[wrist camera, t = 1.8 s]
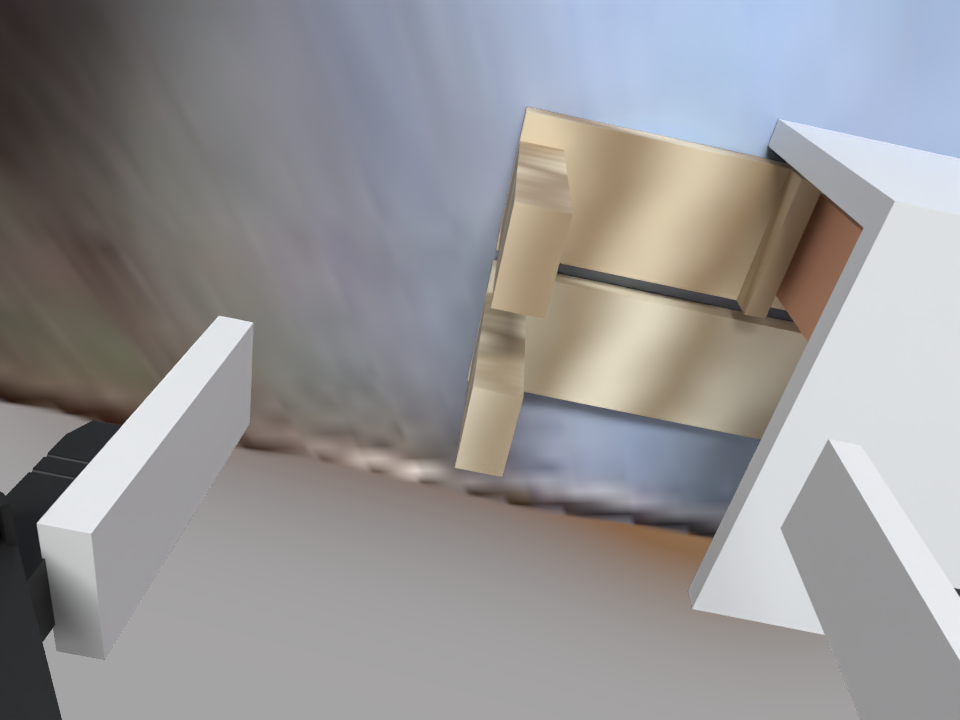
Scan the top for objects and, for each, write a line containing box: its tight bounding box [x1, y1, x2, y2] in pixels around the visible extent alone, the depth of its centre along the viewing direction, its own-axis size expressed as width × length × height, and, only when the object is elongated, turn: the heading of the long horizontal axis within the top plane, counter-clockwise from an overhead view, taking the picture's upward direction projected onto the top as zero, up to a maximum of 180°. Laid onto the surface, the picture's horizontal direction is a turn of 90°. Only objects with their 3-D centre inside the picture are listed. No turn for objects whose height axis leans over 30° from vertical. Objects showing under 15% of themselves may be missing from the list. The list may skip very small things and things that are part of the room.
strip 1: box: [491, 107, 824, 319], centre depth 30 cm, size 20×6×10 cm, turn 79°
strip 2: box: [455, 260, 808, 477], centre depth 34 cm, size 20×6×10 cm, turn 79°
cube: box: [776, 194, 863, 342], centre depth 31 cm, size 5×5×5 cm
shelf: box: [688, 119, 960, 635], centre depth 31 cm, size 10×18×12 cm, turn 169°
